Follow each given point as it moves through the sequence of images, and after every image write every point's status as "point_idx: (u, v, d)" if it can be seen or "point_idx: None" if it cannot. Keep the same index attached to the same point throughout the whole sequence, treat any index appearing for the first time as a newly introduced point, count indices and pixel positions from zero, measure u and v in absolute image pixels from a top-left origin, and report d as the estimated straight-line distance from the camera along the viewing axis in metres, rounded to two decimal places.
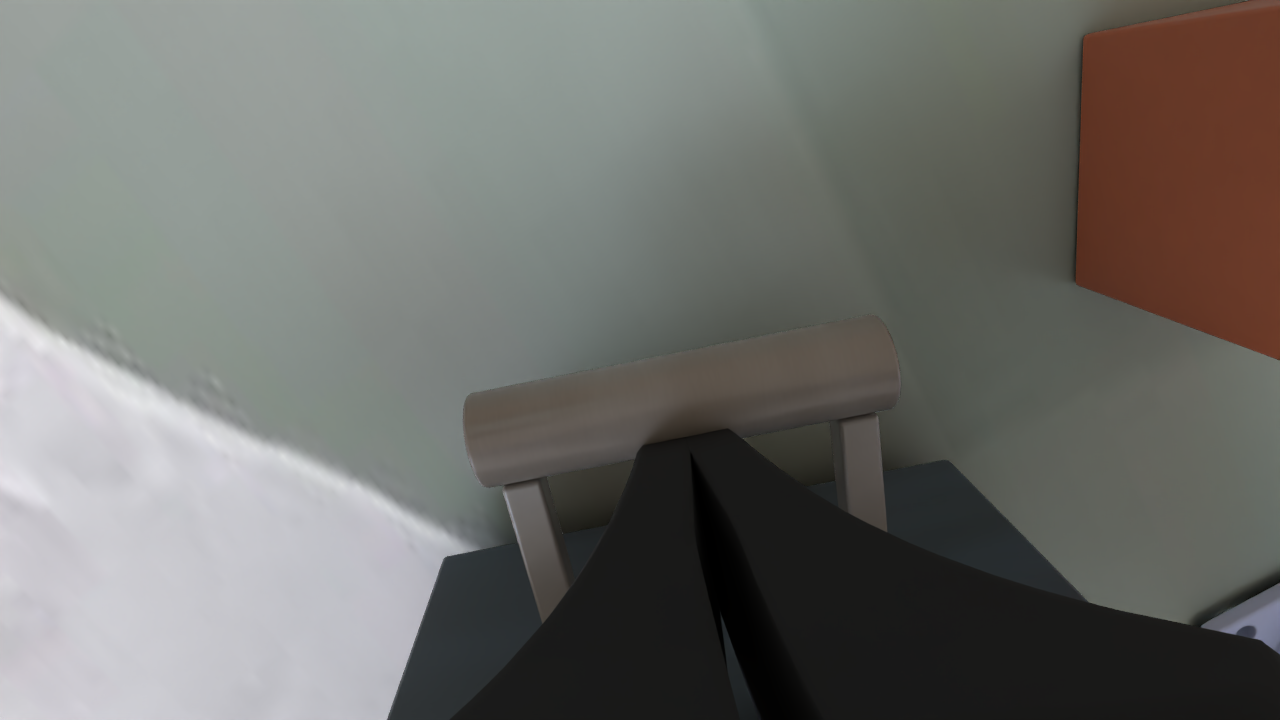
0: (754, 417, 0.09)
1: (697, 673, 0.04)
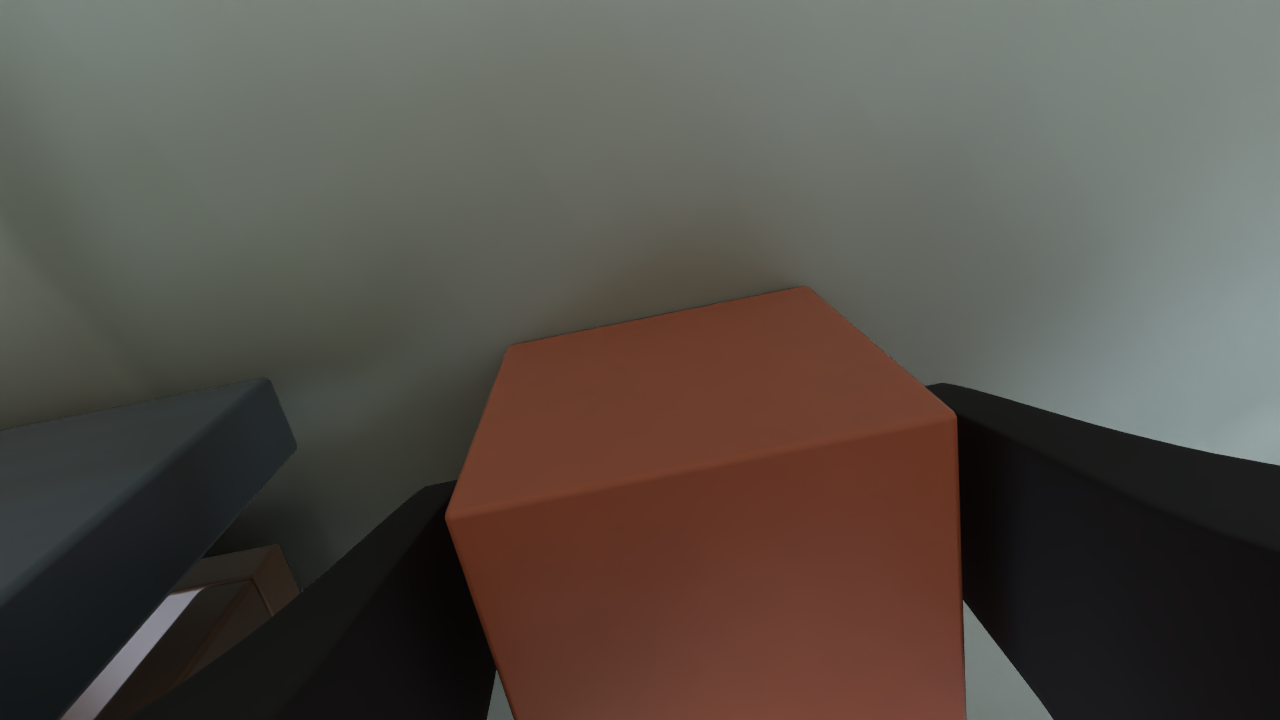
0: None
1: None
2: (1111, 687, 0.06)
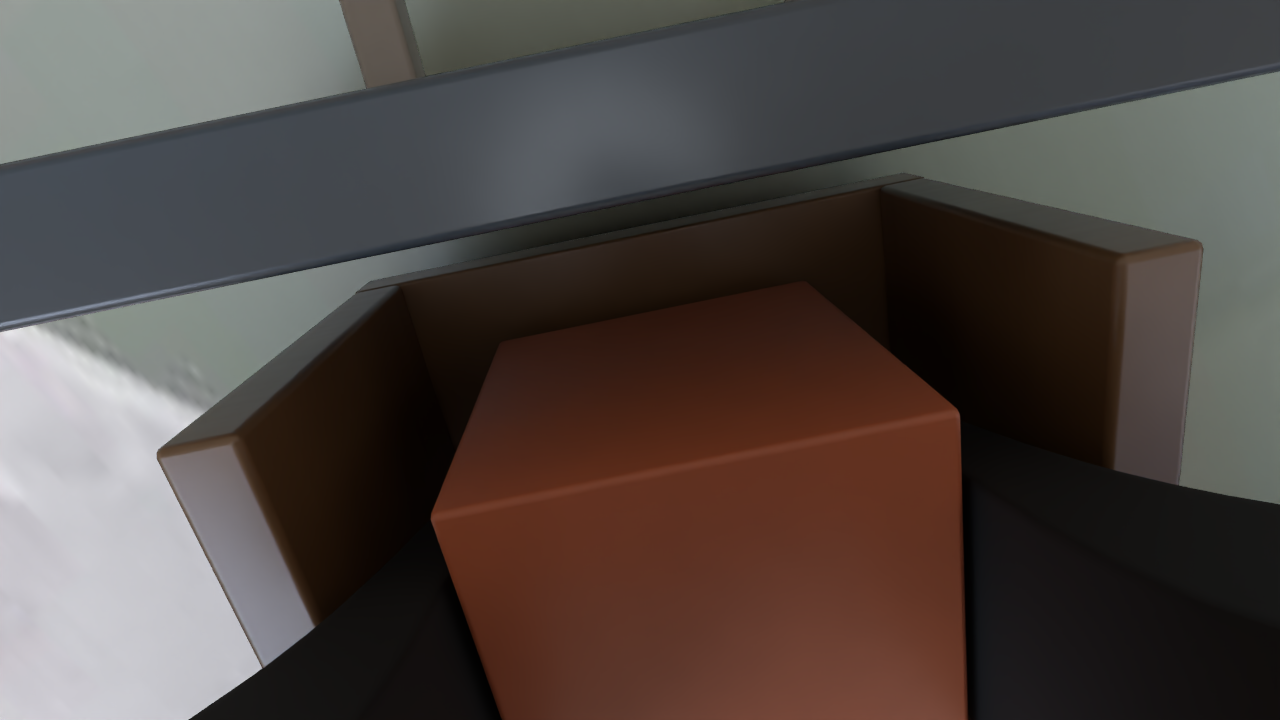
0: None
1: None
2: (1023, 704, 0.06)
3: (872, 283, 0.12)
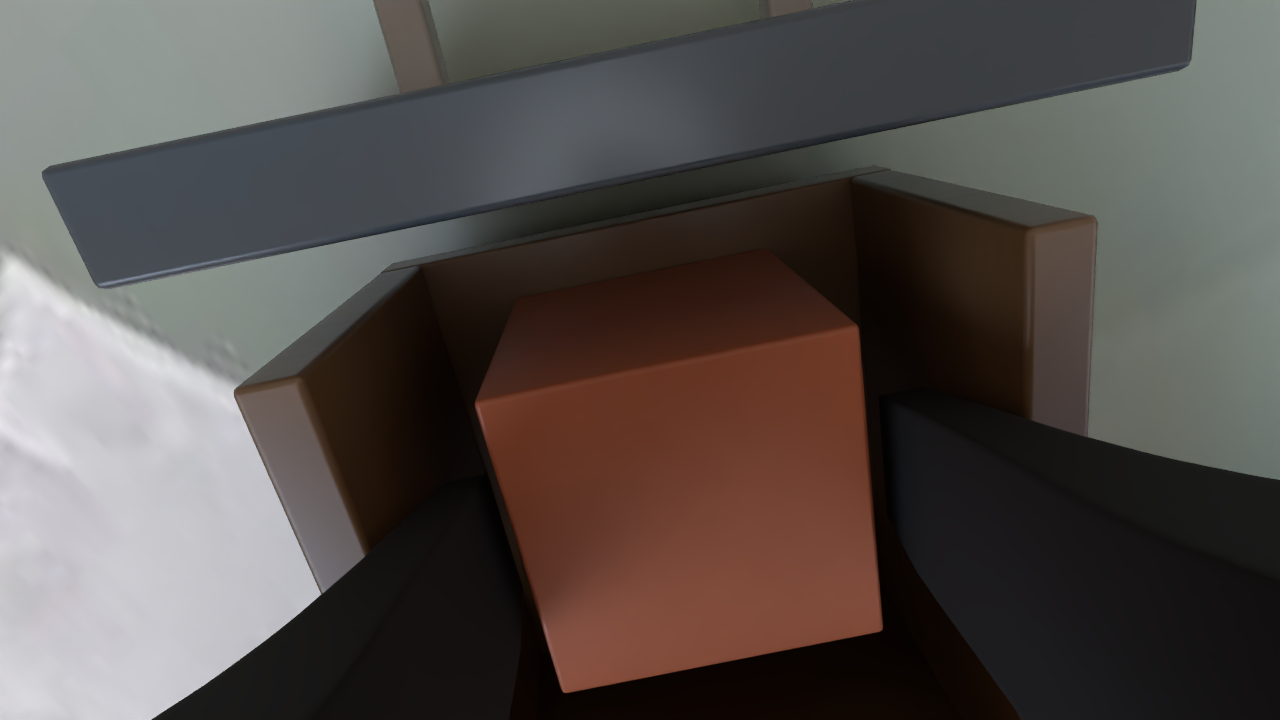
0: None
1: None
2: (1077, 693, 0.06)
3: (845, 265, 0.13)
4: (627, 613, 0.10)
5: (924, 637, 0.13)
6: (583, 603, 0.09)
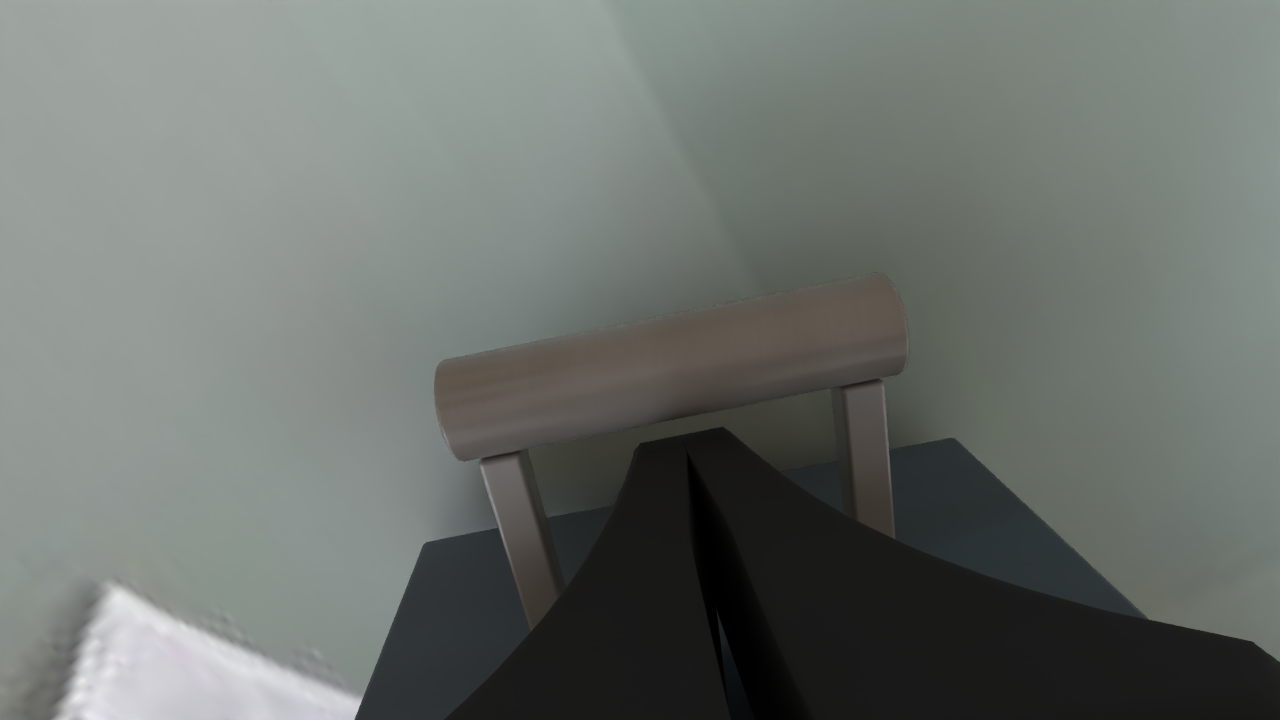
0: (751, 383, 0.09)
1: (690, 675, 0.04)
2: None
3: None
4: None
5: None
6: None
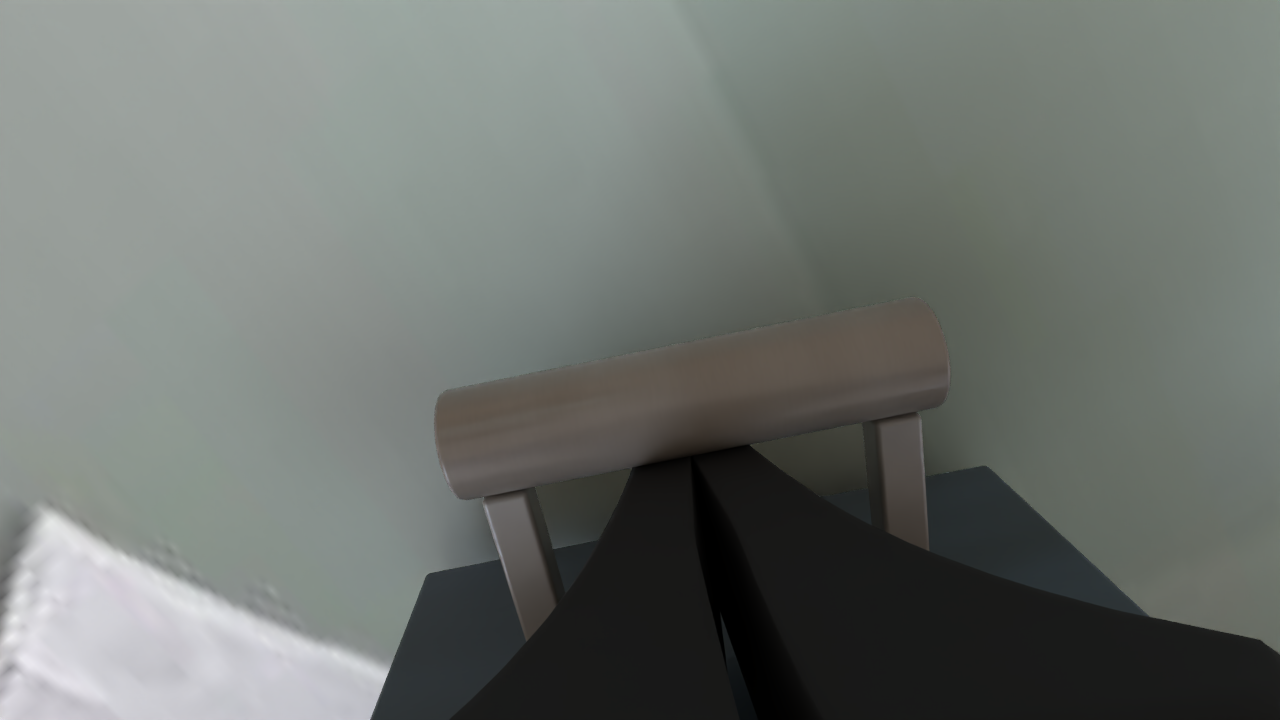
0: (778, 417, 0.08)
1: (697, 673, 0.04)
2: None
3: None
4: None
5: None
6: None
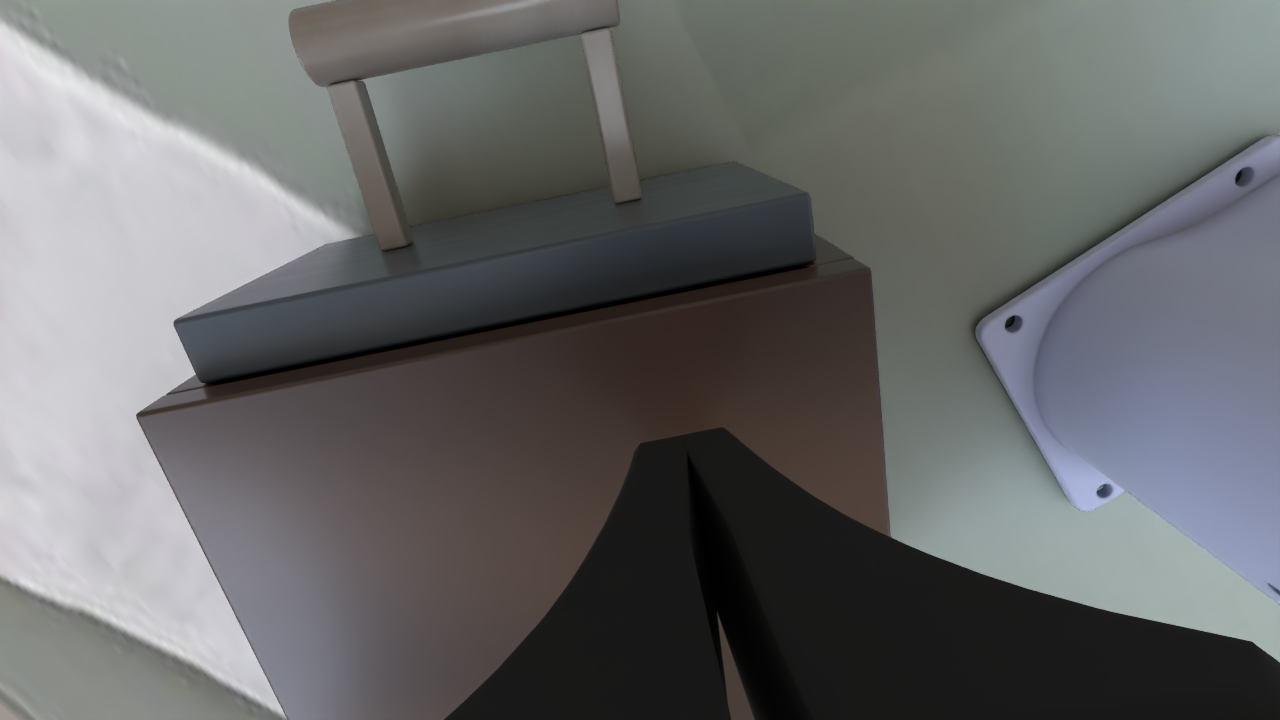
0: (506, 12, 0.13)
1: (690, 674, 0.04)
2: None
3: None
4: None
5: None
6: None
